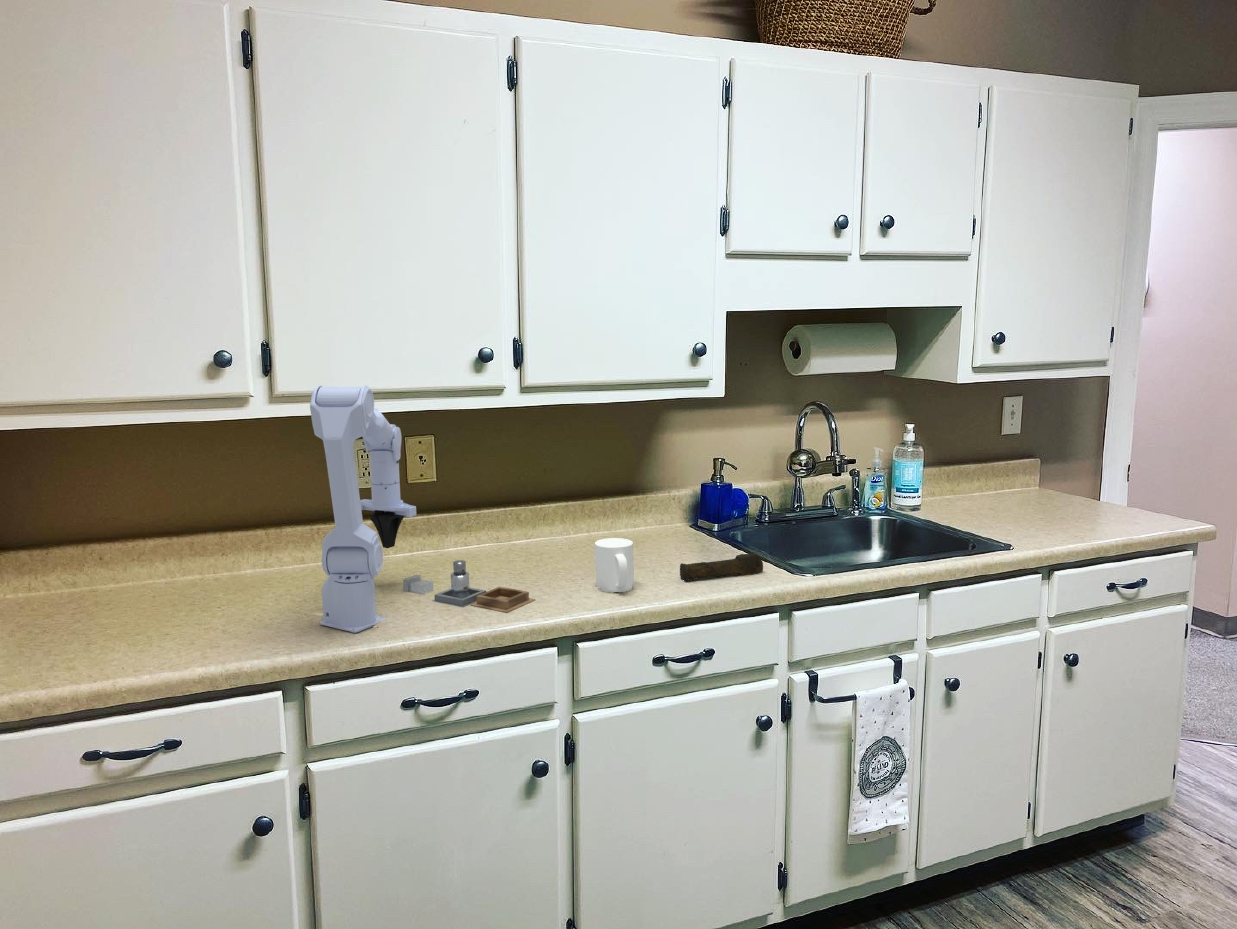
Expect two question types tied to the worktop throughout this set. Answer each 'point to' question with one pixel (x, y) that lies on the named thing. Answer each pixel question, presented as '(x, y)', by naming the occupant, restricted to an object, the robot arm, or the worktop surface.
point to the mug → (614, 564)
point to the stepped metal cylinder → (460, 580)
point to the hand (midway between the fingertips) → (388, 546)
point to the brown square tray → (503, 599)
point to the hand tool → (723, 567)
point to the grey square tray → (448, 599)
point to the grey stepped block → (417, 585)
